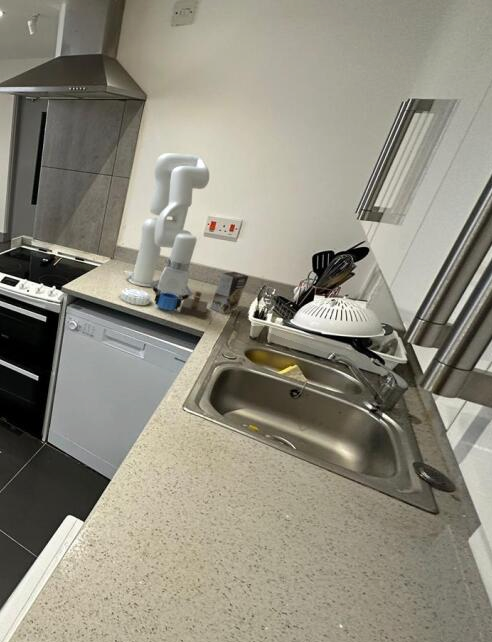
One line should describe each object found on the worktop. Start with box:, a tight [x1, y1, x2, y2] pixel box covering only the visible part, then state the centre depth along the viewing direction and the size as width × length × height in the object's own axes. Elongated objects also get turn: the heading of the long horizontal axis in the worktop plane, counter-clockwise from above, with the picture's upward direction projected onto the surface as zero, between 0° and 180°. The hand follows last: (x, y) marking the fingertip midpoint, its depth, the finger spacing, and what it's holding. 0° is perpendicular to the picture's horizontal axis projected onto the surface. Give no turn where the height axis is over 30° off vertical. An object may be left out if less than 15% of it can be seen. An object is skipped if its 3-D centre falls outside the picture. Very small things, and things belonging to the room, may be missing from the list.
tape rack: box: [179, 290, 209, 320], centre depth 163 cm, size 9×13×8 cm
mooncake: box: [120, 287, 151, 306], centre depth 170 cm, size 12×12×4 cm
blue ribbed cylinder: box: [156, 291, 179, 311], centre depth 162 cm, size 7×7×5 cm
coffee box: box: [209, 271, 249, 314], centre depth 165 cm, size 9×6×16 cm
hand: (166, 305), depth 163 cm, fingers closed on blue ribbed cylinder, 7 cm apart
